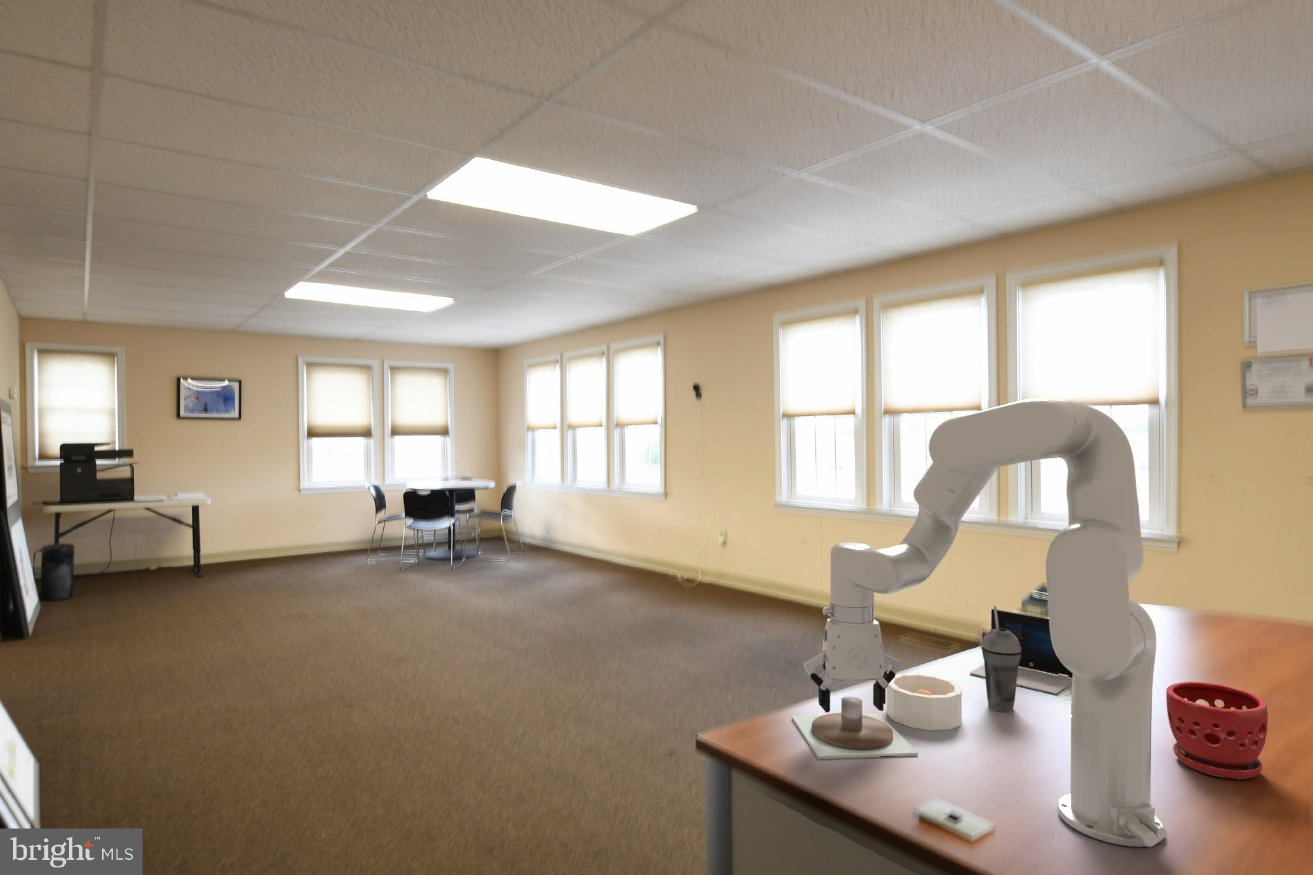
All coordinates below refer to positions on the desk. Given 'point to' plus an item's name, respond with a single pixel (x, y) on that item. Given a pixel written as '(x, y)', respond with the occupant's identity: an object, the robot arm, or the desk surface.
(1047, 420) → the robot arm
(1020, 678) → the laptop
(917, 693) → the ball
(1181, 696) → the plant pot
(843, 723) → the lid
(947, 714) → the bowl
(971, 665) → the desk surface
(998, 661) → the beverage cup
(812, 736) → the mat
